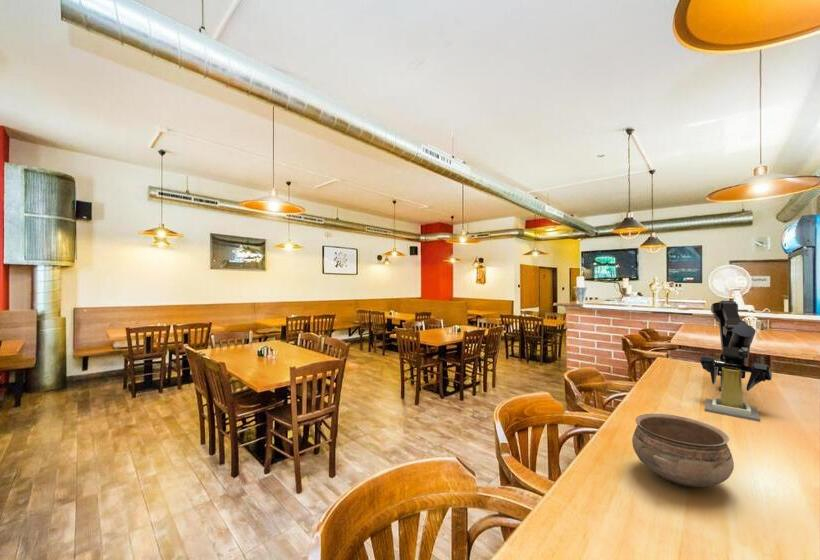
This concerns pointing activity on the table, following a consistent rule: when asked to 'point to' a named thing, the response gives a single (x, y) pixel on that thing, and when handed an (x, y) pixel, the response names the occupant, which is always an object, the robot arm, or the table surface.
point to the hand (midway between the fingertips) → (729, 386)
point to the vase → (731, 387)
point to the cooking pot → (683, 450)
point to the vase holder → (732, 409)
